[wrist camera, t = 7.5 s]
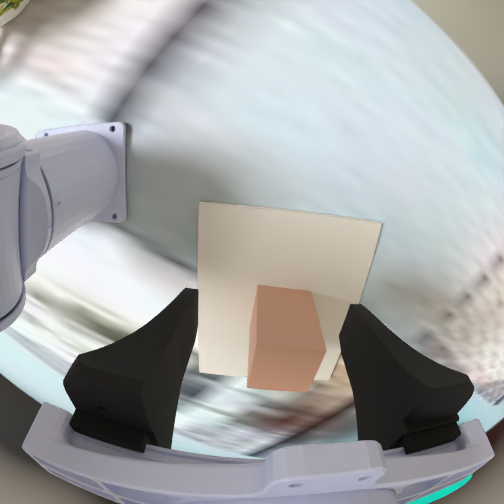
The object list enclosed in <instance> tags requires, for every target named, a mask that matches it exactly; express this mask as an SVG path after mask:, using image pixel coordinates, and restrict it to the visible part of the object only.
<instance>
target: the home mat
mask: <svg viewBox="0 0 504 504" xmlns="http://www.w3.org/2000/svg"><path fill="white" fill-rule="evenodd" d="M381 226H382V224H381V223H380V222H379V221H373V220H366V219H359V218H352V217H345V216H337V215H329V214H322V213H313V212H305V211H296V210H288V209H278V208H269V207H259V206H248V205H238V204H226V203H214V202H201V201H200V203H199V210H198V258H197V289H199V301H198V345H199V370H200V372H202V373H210V374H218V375H228V376H239V377H247V375H248V353H249V331H250V322H251V317H252V312H253V306H254V301H255V295H256V290H257V284H258V285H266V286H273V287H281V288H289V289H297V290H306V291H311V292H312V296H313V299H314V303H315V307H316V311H317V314H318V318H319V322H320V326H321V330H322V334H323V338H324V342H325V346H326V350H327V351H326V353H325V356H324V358H323V360H322V363H321V365H320V367H319V369H318V371H317V374H316V376H315V378H314V380H329V379H330V377H331V374H332V372H333V370H334V367H335V365H336V362H337V360H338V358H339V355H340V353H341V348H340V341H339V333H340V331H341V328H342V326H343V323H344V320H345V317H346V315H347V312H348V309H349V306H350V304H359V301H360V298H361V295H362V292H363V289H364V286H365V283H366V279H367V276H368V273H369V270H370V266H371V263H372V259H373V256H374V252H375V249H376V245H377V241H378V238H379V234H380V230H381Z"/></svg>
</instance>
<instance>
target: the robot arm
mask: <svg viewBox="0 0 504 504" xmlns="http://www.w3.org/2000/svg"><path fill="white" fill-rule="evenodd" d="M113 126H115V131H114V132H113V131H112V127H113ZM47 134H48V136H47ZM125 138H126V126H125V124H124V123H123V122H111V123H98V124H88V125H79V126H71V127H64V128H57V129H50V130H44V131H39V132H37V133H36V135H35V139H30V140H26V139H25V138H24V137H23V136H22V135H21V134H20V133H19V131H18V130H17V129H16V128H14V127H11V126H7V125H1V124H0V332H1V331H3V330H4V329H6V328H7V327H9V326H10V325H11V324H12V323H13V322H14V321H15V320H16V319H17V318H18V317H19V315H20V313H21V312H22V310H23V307H24V305H25V300H26V289H25V284H24V281H26V280H27V279H28V278H29V277H30V276H31V275H32V274H33V273H34V272H36V263H37V261H38V259H39V258H40V257H41V256H42V255H44V254H45V253H46V252H48V251H49V250H50V249H51V248H53V247H54V246H55V245H56V244H58V243H59V242H60V241H62V240H63V239H64V238H65V237H67V236H68V235H69V234H71V233H72V232H74V231H75V230H76V229H78V228H79V227H80V226H82V225H83V224H84V223H86V222H87V221H101V222H115V223H122V222H124V221H125V220H126V218H127V210H126V185H125ZM114 214H116V215H117V218H115V217H114ZM198 301H199V289H191V288H185V289H184V290H183V291H182V292H181V293H180V294H179V295H178V296H177V297H176V298H175V299H174V300H173V301H172V302H171V303H170V304H169V305H168V306H167V307H166V308H165V309H164V310H162V311H161V312H160V313H159V314H158V315H157V316H155V317H154V318H153V319H152V320H151V321H149V322H148V323H147V324H145V325H144V326H143V327H141V328H140V329H138V330H137V331H135V332H133V333H132V334H130V335H128V336H126V337H124V338H122V339H121V340H119V341H116V342H114V343H112V344H110V345H107V346H105V347H102V348H99V349H96V350H93V351H90V352H87V353H83V354H79V355H78V357H77V358H76V359H75V361H74V362H73V364H72V366H71V367H70V369H69V371H68V373H67V374H66V376H65V378H64V380H63V385H64V388H65V390H66V392H67V394H68V396H69V398H70V400H71V401H72V403H73V405H74V406H75V408H76V410H75V412H74V414H73V415H72V414H71V413H69V412H68V411H66V410H64V409H62V408H59V407H57V406H55V405H52V404H50V403H48V402H44V403H43V405H42V407H41V409H40V410H39V412H38V414H37V416H36V418H35V420H34V422H33V424H32V426H31V428H30V430H29V432H28V434H27V437H26V439H25V441H24V443H23V445H22V448H23V449H24V450H25V451H26V452H27V453H28V454H29V455H30V456H31V457H32V458H33V459H34V460H35V461H37V462H38V463H39V464H40V465H41V466H42V467H43V468H45V469H46V470H47V471H48V472H49V473H51V474H53V475H55V476H57V477H60V478H61V479H63V480H66V481H68V482H70V483H72V484H74V485H76V486H79V487H81V488H83V489H86V490H88V491H90V492H92V493H95V494H97V495H100V496H102V497H105V498H107V499H110V500H112V501H115V502H118V503H121V504H407V503H410V502H412V501H415V500H417V499H420V498H423V497H425V496H427V495H430V494H432V493H435V492H437V491H439V490H442V489H444V488H446V487H448V486H451V485H453V484H455V483H457V482H459V481H461V480H463V479H465V478H466V477H468V476H469V475H471V474H472V473H473V472H475V471H476V470H477V469H479V468H480V467H481V466H483V465H484V464H485V463H486V462H488V461H489V460H490V459H491V458H493V457H494V452H493V450H492V447H491V445H490V443H489V441H488V438H487V436H486V434H485V432H484V429H483V427H482V425H481V423H480V421H479V419H474V420H472V421H469V422H466V423H463V424H462V425H460V426H459V427H458V425H457V421H458V420H459V416H458V414H457V413H458V412H459V411H460V410H461V409H462V407H463V406H464V405H465V404H466V403H467V402H468V400H469V399H470V398H471V396H472V394H473V392H474V386H473V384H472V382H471V381H470V379H469V377H468V375H466V374H463V373H461V372H458V371H455V370H452V369H450V368H447V367H445V366H443V365H441V364H439V363H437V362H435V361H433V360H431V359H429V358H427V357H426V356H424V355H422V354H421V353H419V352H418V351H416V350H415V349H413V348H412V347H410V346H409V345H408V344H406V343H405V342H404V341H402V340H401V339H400V338H399V337H398V336H396V335H395V334H394V333H393V332H392V331H391V330H389V329H388V328H387V327H386V326H385V325H384V324H383V323H382V322H381V321H380V320H379V319H378V318H376V317H375V316H374V315H373V314H372V313H371V312H370V311H369V310H368V309H367V308H365V307H364V306H363V305H362V304H350V306H349V309H348V312H347V315H346V317H345V320H344V323H343V326H342V328H341V331H340V333H339V341H340V348H341V353H342V357H343V360H344V364H345V367H346V370H347V374H348V377H349V380H350V384H351V387H352V391H353V396H354V402H355V409H356V418H357V428H358V441H353V442H343V443H331V444H313V445H296V446H287V447H284V448H281V449H278V450H275V451H274V452H272V453H271V454H270V455H269V456H267V457H266V459H265V460H262V459H242V458H230V457H219V456H211V455H203V454H196V453H189V452H183V451H177V450H172V449H171V445H172V437H173V430H174V423H175V416H176V410H177V404H178V399H179V394H180V388H181V384H182V380H183V377H184V374H185V371H186V367H187V364H188V361H189V358H190V355H191V352H192V349H193V346H194V343H195V338H196V333H197V328H198Z"/></svg>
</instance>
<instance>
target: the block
mask: <svg viewBox="0 0 504 504" xmlns="http://www.w3.org/2000/svg"><path fill="white" fill-rule="evenodd" d="M326 351H327V350H326V346H325V342H324V338H323V334H322V330H321V326H320V322H319V318H318V314H317V311H316V307H315V303H314V299H313V296H312V292H311V291H306V290H297V289H289V288H281V287H273V286H266V285H258V284H257V290H256V295H255V301H254V306H253V312H252V317H251V322H250V331H249V353H248V375H247V388H254V389H265V390H278V391H295V392H308V391H309V389H310V387H311V384H312V382H313V380H314V378H315V376H316V374H317V371H318V369H319V367H320V365H321V363H322V360H323V358H324V356H325V353H326Z"/></svg>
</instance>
